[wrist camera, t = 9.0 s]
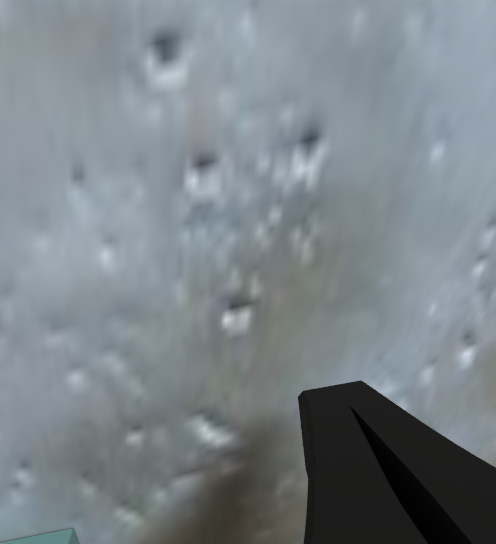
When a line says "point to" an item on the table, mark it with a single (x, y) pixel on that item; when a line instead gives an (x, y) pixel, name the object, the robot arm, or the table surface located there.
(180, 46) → the table surface
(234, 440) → the table surface
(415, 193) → the table surface
